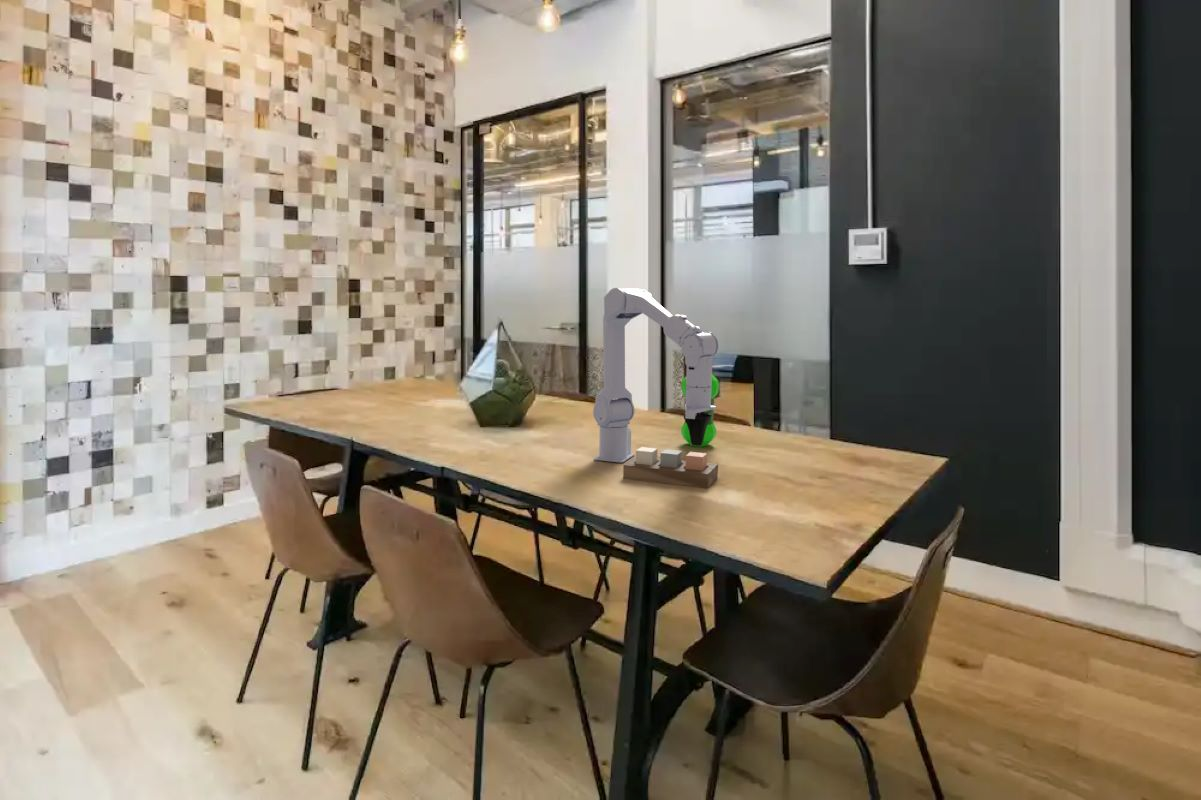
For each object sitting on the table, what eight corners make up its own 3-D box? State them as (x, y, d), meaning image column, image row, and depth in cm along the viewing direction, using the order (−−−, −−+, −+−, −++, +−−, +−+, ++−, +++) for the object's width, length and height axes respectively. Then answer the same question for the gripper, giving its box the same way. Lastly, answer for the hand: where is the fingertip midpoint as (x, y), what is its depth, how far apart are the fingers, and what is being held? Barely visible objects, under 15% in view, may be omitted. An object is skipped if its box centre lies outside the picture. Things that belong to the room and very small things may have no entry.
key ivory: (641, 461, 171) (641, 447, 171) (657, 463, 170) (657, 448, 169) (635, 465, 168) (636, 450, 167) (651, 467, 166) (652, 452, 165)
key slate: (665, 464, 169) (665, 449, 168) (681, 465, 167) (681, 451, 167) (660, 468, 165) (660, 452, 165) (676, 469, 164) (677, 454, 163)
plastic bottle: (724, 446, 201) (727, 357, 197) (694, 449, 196) (697, 359, 192) (702, 439, 210) (704, 354, 206) (672, 442, 204) (675, 356, 201)
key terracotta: (689, 466, 167) (690, 451, 166) (706, 468, 165) (707, 453, 165) (685, 470, 163) (685, 455, 163) (702, 472, 162) (702, 457, 161)
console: (637, 468, 175) (637, 455, 175) (717, 477, 168) (718, 464, 167) (623, 478, 166) (623, 464, 165) (707, 488, 159) (708, 474, 158)
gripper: (708, 391, 153) (706, 453, 155) (723, 383, 166) (721, 440, 168) (676, 389, 156) (675, 450, 158) (693, 381, 169) (692, 437, 171)
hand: (696, 444), depth 163 cm, fingers closed
